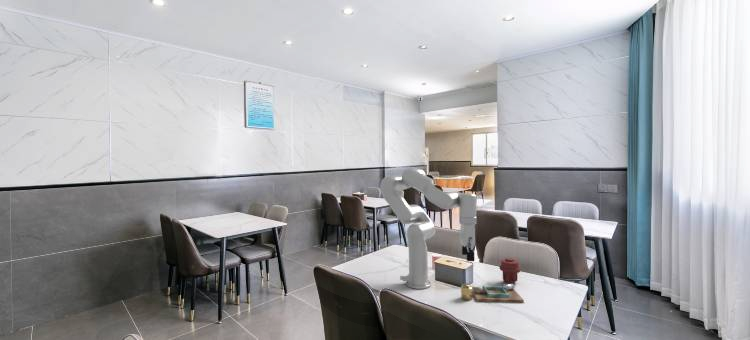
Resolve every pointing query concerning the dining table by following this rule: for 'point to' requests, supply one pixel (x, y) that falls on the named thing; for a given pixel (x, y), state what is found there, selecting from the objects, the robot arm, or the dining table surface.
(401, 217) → the robot arm
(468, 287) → the cylinder
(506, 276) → the mechanical component
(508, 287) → the shaft
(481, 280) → the dining table surface
